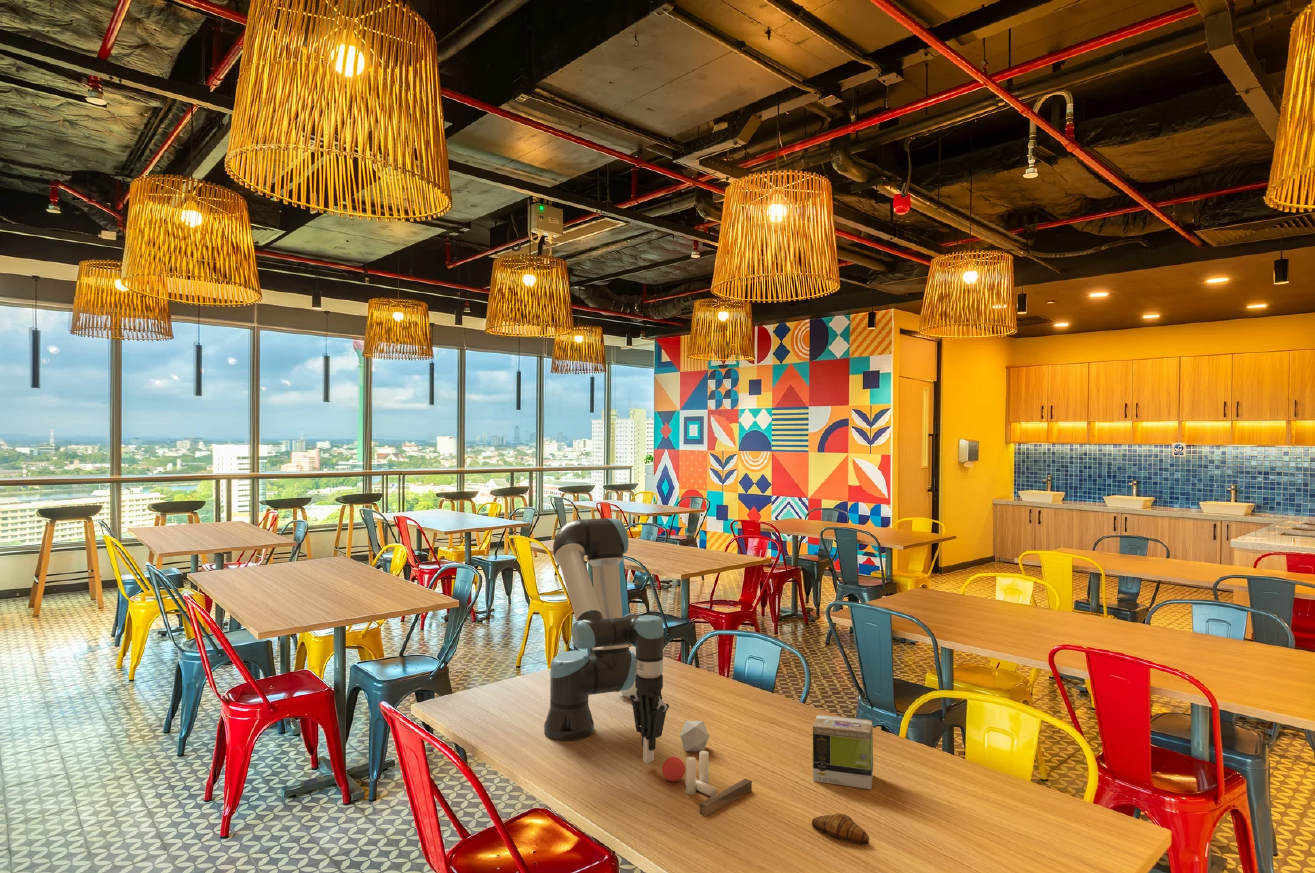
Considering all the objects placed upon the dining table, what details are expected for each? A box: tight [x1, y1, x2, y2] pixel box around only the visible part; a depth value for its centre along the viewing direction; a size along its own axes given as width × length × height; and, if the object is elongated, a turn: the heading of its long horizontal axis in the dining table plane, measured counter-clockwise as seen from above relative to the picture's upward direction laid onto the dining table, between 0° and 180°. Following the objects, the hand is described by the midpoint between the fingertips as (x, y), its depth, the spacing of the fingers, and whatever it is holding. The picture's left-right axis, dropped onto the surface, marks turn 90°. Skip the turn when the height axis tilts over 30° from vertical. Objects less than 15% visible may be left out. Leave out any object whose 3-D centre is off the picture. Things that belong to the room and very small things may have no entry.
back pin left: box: [698, 750, 710, 784], centre depth 190 cm, size 2×2×8 cm
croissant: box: [811, 812, 870, 845], centre depth 166 cm, size 14×7×5 cm, turn 53°
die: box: [679, 720, 710, 752], centre depth 212 cm, size 8×9×10 cm
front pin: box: [684, 778, 717, 797], centre depth 187 cm, size 2×2×8 cm
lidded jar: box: [620, 679, 637, 699], centre depth 257 cm, size 11×11×9 cm
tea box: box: [812, 713, 874, 790], centre depth 195 cm, size 15×10×15 cm, turn 71°
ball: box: [661, 756, 686, 782], centre depth 192 cm, size 6×6×6 cm
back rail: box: [699, 778, 753, 817], centre depth 181 cm, size 2×18×2 cm, turn 136°
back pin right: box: [685, 756, 697, 795], centre depth 186 cm, size 2×2×8 cm
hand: (648, 760), depth 200 cm, fingers closed
